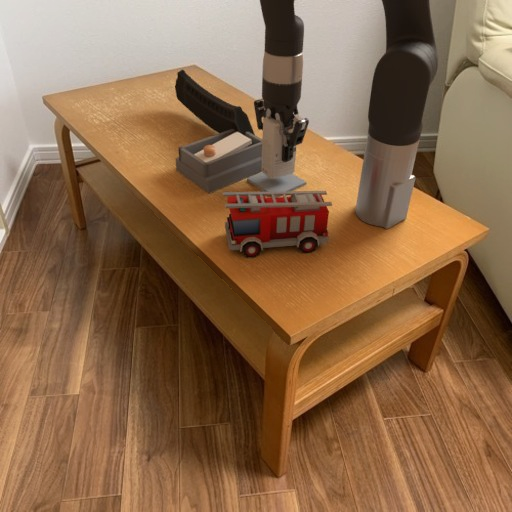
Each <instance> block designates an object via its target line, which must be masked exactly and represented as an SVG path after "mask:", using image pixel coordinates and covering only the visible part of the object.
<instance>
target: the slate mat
mask: <svg viewBox="0 0 512 512" xmlns="http://www.w3.org/2000/svg"><path fill="white" fill-rule="evenodd" d="M246 181H247V182H249V184H251V185H253V186H255V187H256V188H258V189H259V190H260V191H261V192H274V191H296V190H297V189H299V188H301V187H305V186H306V185H307V181H306V180H304V179H302V178H301V177H298V176H296V175H295V174H294V173H292V174H289V175H286V176H283V177H279V178H276V179H270V178H269V177H268V176H266V175H265V174H264V173H263V172H260V173H257V174H255V175H252V176H250V177H247V178H246ZM276 197H280V196H275V198H276Z"/></svg>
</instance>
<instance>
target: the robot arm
mask: <svg viewBox="0 0 512 512" xmlns="http://www.w3.org/2000/svg"><path fill="white" fill-rule="evenodd" d="M381 2H382V6H383V12H384V19H385V38H386V39H385V40H386V41H385V45H386V46H385V52H384V54H383V55H382V56H381V57H380V59H379V60H378V61H377V64H376V66H375V68H374V71H373V72H374V73H373V77H372V83H371V87H370V88H371V90H370V96H369V103H368V105H369V106H368V110H367V111H368V113H367V120H368V129H367V136H366V143H365V148H364V149H365V150H364V153H363V154H364V155H363V161H362V166H361V172H360V179H359V184H358V189H357V191H358V192H357V198H356V204H355V208H354V209H355V214H356V217H358V219H360V220H361V221H362V222H364V223H366V224H369V225H372V226H376V227H382V228H384V229H386V230H388V229H390V228H393V226H395V225H397V224H398V223H400V222H402V221H404V220H405V219H407V216H408V212H409V209H410V203H411V198H412V195H413V191H414V186H415V181H416V176H415V175H414V174H413V169H414V165H415V161H416V156H417V153H418V148H419V144H420V143H419V142H420V141H421V140H420V139H421V134H422V130H423V116H424V111H425V107H426V102H427V99H428V95H429V89H430V86H431V85H432V82H433V81H434V79H435V77H436V76H437V72H438V67H439V56H438V50H437V44H436V38H435V33H434V25H433V21H432V20H433V19H432V13H431V4H430V0H381ZM259 4H260V9H261V14H262V18H263V22H264V23H263V24H264V28H265V30H264V52H263V57H262V75H261V77H262V78H261V79H262V80H261V82H262V83H261V98H258V99H256V100H254V101H253V109H254V113H255V119H256V124H257V127H256V128H258V130H259V131H262V132H263V118H266V117H267V118H269V119H271V118H273V119H275V120H276V121H277V122H278V124H279V125H280V127H279V134H280V135H282V140H283V147H282V161H283V162H288V161H290V160H291V159H292V158H293V151H294V146H296V147H297V146H299V145H301V144H303V142H304V139H305V135H306V132H307V129H308V126H309V123H310V121H309V119H308V118H307V117H305V118H303V117H301V115H299V109H298V104H299V102H300V100H301V96H302V85H303V83H302V82H303V73H304V72H303V70H304V69H303V68H304V58H303V56H304V55H303V52H304V51H303V50H304V40H305V39H304V38H305V24H304V21H303V19H302V18H301V17H300V16H298V15H296V11H295V0H259ZM290 125H292V126H291V127H290V128H289V129H286V130H285V128H286V127H289V126H290ZM288 134H289V136H290V139H288Z"/></svg>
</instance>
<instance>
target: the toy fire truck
mask: <svg viewBox="0 0 512 512" xmlns="http://www.w3.org/2000/svg"><path fill="white" fill-rule="evenodd" d="M327 195H328V193H327V190H293V191H274V192H264V191H227V192H226V191H224V192H222V196H223V198H224V197H227V203H225V204H224V207H225V209H229V214H228V216H227V217H226V221H225V222H224V229H225V233H226V234H225V235H226V240H227V243H228V244H227V245H228V248H229V249H228V250H229V252H230V251H240V252H242V255H243V256H245V257H246V258H248V259H250V258H251V259H253V258H256V257H258V256H260V254H261V252H262V251H264V248H265V249H266V248H278V247H292V246H293V247H294V246H296V247H297V248H298V249H299V250H300V251H301V252H302V254H311V253H313V252H315V251H316V250H317V248H318V246H320V244H327V243H328V244H329V241H330V240H329V239H330V238H329V235H328V234H329V231H328V222H329V216H330V215H329V213H330V211H329V208H328V207H333V203H332V201H325V200H324V198H323V196H327ZM275 196H279V197H276V198H275Z"/></svg>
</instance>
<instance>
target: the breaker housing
mask: <svg viewBox="0 0 512 512" xmlns="http://www.w3.org/2000/svg"><path fill="white" fill-rule="evenodd" d="M233 133H235V130H234V129H231V130H228V131H225V132H222V133H216V134H214V135H210V136H207V137H205V138H203V139H202V138H201V139H199V140H197V141H194V142H191V143H187V144H185V145H182V146H179V147H178V150H177V151H178V157H176V158H174V160H175V169H176V170H175V171H176V172H178V173H179V174H181V175H182V176H184V178H186V179H188V181H190V182H192V183H193V184H194V185H196V186H197V187H199V188H200V189H202V190H203V191H205V193H207V194H210V193H211V194H212V193H213V192H215V191H218V190H221V189H223V188H225V187H227V186H230V185H233V184H235V183H237V182H240V181H242V180H243V181H244V180H245V179H247V178H249V177H251V176H254V175H256V174H259V173H261V172H262V171H261V163H262V138H261V137H259V136H257V135H256V134H255V135H253V134H252V133H250V132H245V135H246V137H248V138H250V139H251V140H252V144H250V145H248V146H247V147H245V148H243V149H241V150H238V151H235V152H233V153H230V154H227V155H225V156H222V157H219V158H217V159H214V160H211V161H209V162H204V161H203V160H201V159H200V158H198V157H197V156H195V155H194V154H196V153H198V152H200V151H201V150H203V148H204V147H205V146H206V145H213V144H214V143H216V142H218V141H220V140H222V139H224V138H226V137H228V136H229V135H231V134H233Z"/></svg>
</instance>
